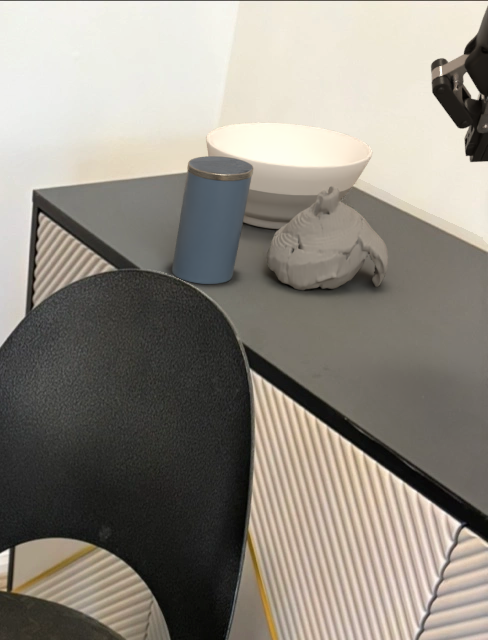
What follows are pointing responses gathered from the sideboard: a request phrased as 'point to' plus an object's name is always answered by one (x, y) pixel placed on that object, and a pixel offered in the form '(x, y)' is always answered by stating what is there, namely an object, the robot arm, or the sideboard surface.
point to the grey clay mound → (326, 246)
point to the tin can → (211, 219)
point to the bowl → (289, 166)
